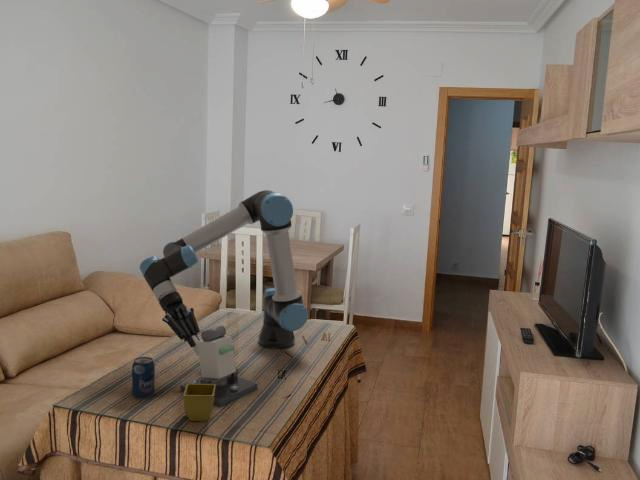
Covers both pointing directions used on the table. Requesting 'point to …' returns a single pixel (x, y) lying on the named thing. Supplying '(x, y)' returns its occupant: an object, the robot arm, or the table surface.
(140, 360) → the soda can
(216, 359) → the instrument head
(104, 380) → the table surface
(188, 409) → the flower pot
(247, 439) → the table surface
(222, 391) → the levelling base
